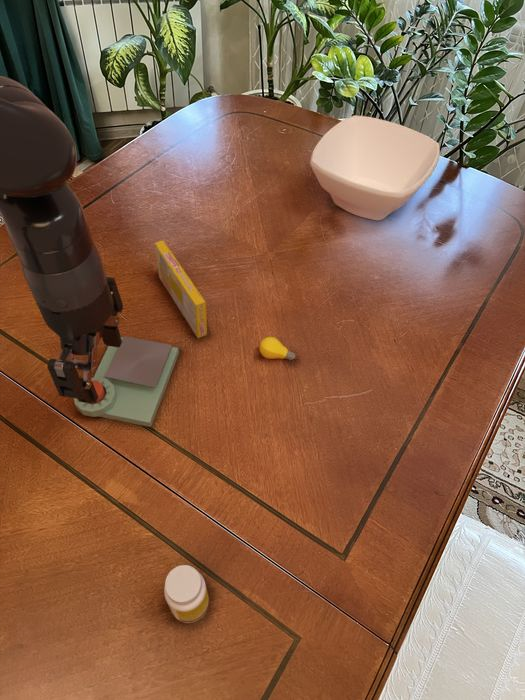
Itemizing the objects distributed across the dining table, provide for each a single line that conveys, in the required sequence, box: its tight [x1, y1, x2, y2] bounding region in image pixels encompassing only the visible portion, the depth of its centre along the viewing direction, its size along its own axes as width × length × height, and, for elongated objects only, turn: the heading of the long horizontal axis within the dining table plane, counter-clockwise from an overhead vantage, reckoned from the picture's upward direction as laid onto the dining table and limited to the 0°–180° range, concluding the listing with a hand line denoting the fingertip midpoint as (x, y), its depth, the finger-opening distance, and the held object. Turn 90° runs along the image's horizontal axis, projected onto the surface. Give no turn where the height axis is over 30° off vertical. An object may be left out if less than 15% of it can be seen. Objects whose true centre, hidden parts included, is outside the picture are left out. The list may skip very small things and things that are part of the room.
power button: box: [91, 381, 105, 403], centre depth 84 cm, size 3×3×2 cm
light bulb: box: [258, 336, 296, 361], centre depth 91 cm, size 3×6×4 cm, turn 76°
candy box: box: [154, 239, 208, 339], centre depth 95 cm, size 16×2×8 cm, turn 30°
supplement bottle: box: [163, 564, 210, 624], centre depth 66 cm, size 5×5×8 cm
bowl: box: [309, 114, 441, 221], centre depth 111 cm, size 22×22×12 cm
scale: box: [73, 336, 180, 428], centre depth 87 cm, size 15×12×3 cm
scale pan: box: [105, 335, 173, 388], centre depth 87 cm, size 8×8×1 cm
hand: (102, 371), depth 72 cm, fingers open, 8 cm apart
